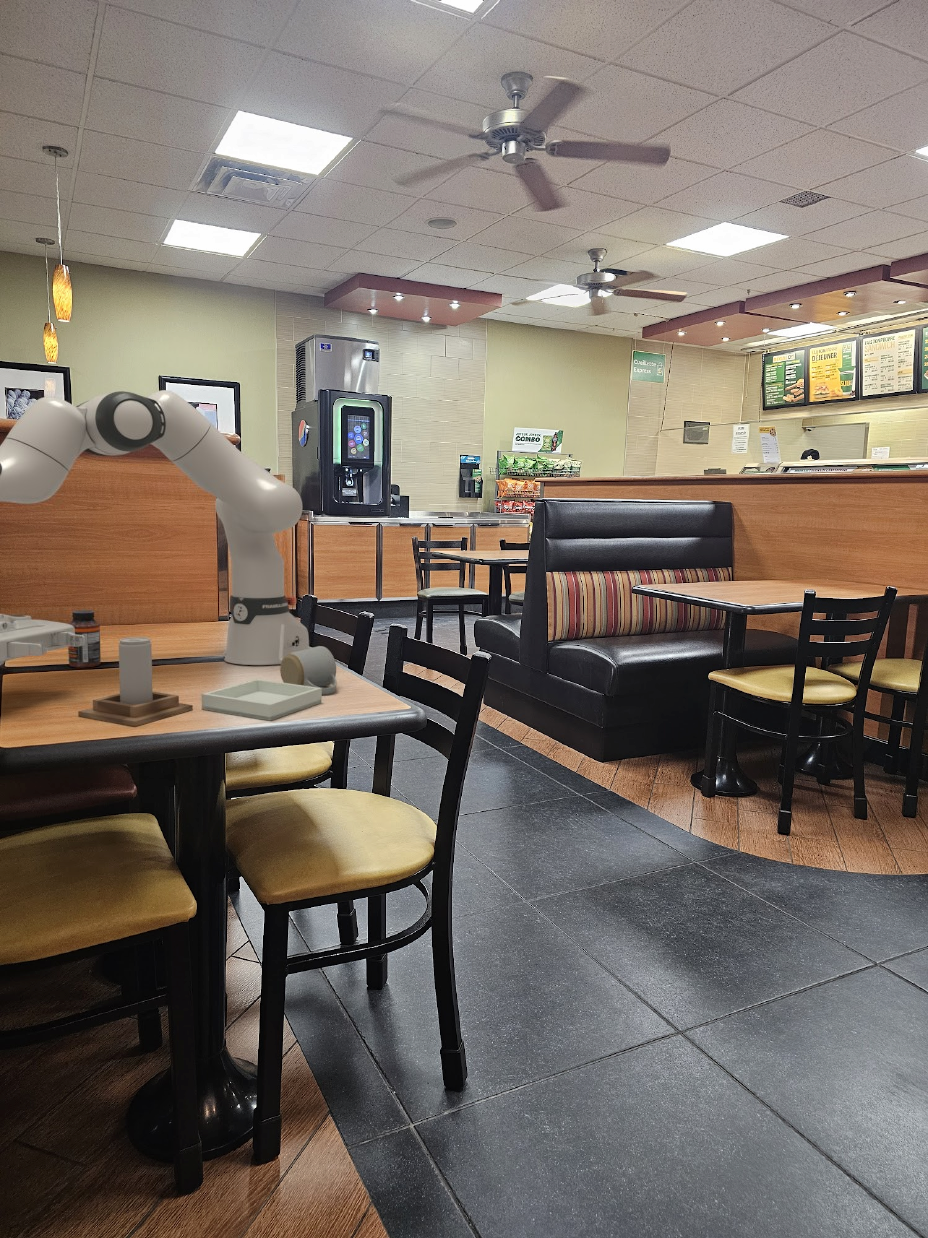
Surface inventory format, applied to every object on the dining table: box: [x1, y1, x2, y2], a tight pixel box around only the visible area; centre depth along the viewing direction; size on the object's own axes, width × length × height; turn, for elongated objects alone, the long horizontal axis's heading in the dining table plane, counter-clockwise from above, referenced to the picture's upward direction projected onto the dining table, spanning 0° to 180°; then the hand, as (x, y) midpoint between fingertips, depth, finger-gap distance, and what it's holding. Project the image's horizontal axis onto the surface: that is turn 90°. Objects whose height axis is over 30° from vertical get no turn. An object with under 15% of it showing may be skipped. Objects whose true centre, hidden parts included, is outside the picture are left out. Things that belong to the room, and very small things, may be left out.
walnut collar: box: [77, 691, 194, 728], centre depth 126 cm, size 12×12×2 cm
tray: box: [201, 678, 323, 722], centre depth 133 cm, size 14×14×3 cm
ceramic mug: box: [279, 645, 338, 696], centre depth 146 cm, size 11×8×8 cm
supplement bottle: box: [67, 609, 102, 669], centre depth 161 cm, size 6×6×11 cm
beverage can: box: [118, 636, 154, 705], centre depth 126 cm, size 5×5×12 cm
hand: (63, 645), depth 127 cm, fingers open, 8 cm apart
